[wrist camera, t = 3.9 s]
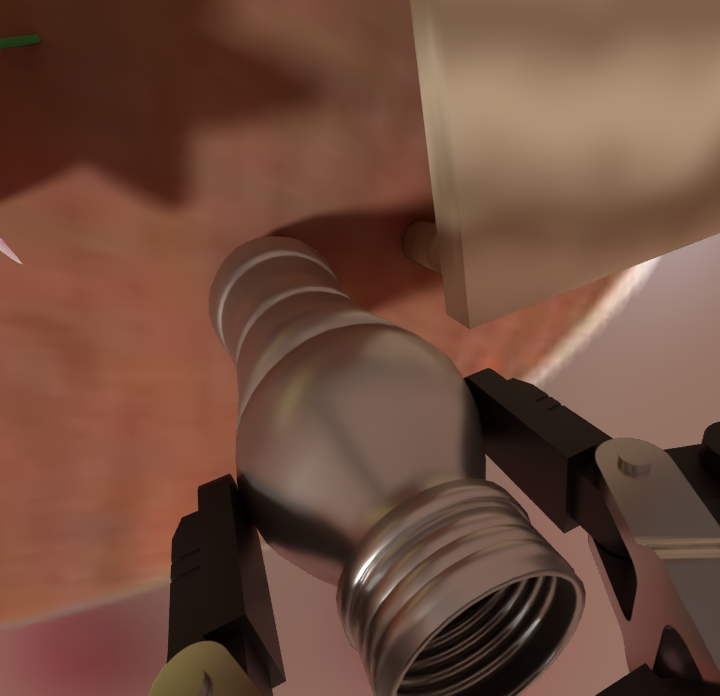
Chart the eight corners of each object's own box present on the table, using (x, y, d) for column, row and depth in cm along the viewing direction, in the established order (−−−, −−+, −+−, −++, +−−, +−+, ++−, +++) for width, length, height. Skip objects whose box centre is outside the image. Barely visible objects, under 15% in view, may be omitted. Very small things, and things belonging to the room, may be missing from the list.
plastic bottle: (341, 251, 24) (724, 492, 7) (301, 357, 26) (529, 756, 9) (228, 208, 21) (414, 446, 4) (190, 331, 23) (210, 859, 6)
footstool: (297, -279, 15) (384, -620, 9) (654, -287, 19) (914, -529, 12) (395, 282, 26) (469, 329, 19) (613, 208, 30) (740, 225, 23)
